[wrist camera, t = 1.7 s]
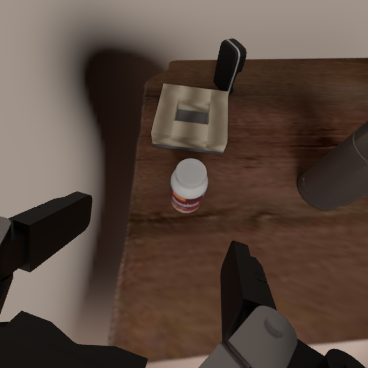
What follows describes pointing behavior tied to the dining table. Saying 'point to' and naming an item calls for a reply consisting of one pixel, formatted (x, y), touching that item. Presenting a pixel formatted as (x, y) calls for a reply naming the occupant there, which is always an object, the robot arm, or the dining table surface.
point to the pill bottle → (188, 185)
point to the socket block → (191, 119)
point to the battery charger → (229, 64)
